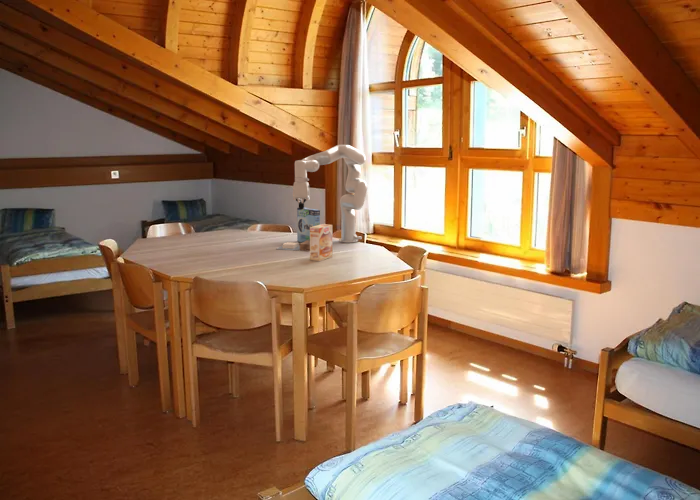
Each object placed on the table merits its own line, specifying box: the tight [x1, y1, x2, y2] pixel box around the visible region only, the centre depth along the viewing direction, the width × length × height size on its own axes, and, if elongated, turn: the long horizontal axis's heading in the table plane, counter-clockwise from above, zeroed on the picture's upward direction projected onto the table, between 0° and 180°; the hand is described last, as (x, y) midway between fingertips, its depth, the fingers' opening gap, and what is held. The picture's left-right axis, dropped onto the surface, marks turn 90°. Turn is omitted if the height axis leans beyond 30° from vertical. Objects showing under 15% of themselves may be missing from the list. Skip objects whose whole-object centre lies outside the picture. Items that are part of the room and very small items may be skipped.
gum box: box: [296, 207, 321, 243], centre depth 449 cm, size 20×5×23 cm, turn 39°
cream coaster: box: [282, 241, 300, 249], centre depth 433 cm, size 8×8×2 cm
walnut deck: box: [299, 240, 310, 252], centre depth 430 cm, size 9×14×4 cm, turn 165°
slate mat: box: [276, 244, 301, 251], centre depth 433 cm, size 15×16×1 cm
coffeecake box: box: [309, 223, 333, 262], centre depth 397 cm, size 15×7×20 cm, turn 151°
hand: (301, 209), depth 427 cm, fingers closed
